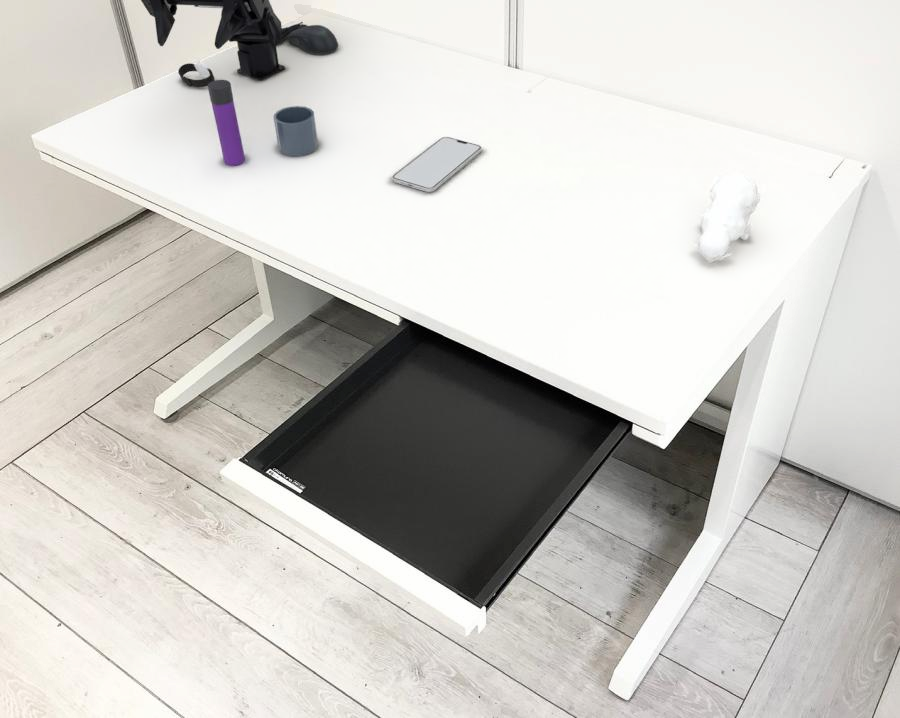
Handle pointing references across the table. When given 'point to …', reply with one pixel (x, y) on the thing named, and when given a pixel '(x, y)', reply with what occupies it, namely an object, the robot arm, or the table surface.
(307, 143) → the pen holder
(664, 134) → the table surface
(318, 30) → the computer mouse
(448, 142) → the smartphone
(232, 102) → the glue stick
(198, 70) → the watch
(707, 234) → the white animal figurine
